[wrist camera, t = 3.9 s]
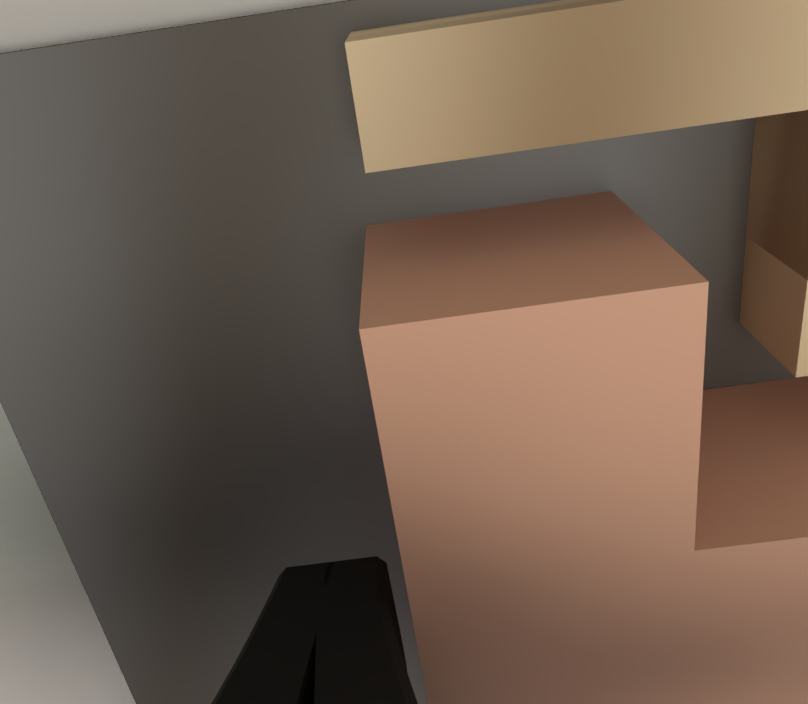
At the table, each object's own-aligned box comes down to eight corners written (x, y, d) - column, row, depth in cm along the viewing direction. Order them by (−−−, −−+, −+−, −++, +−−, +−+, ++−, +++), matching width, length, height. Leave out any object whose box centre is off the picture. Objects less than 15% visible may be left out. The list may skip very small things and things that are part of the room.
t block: (1208, 105, 9) (1580, 162, 6) (1023, 645, 13) (1194, 823, 10) (366, 225, 9) (358, 329, 6) (447, 711, 13) (464, 898, 10)
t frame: (1604, -192, 8) (1962, -241, 6) (1165, 694, 14) (1277, 797, 12) (-119, 72, 9) (-251, 96, 7) (196, 800, 15) (171, 913, 13)
